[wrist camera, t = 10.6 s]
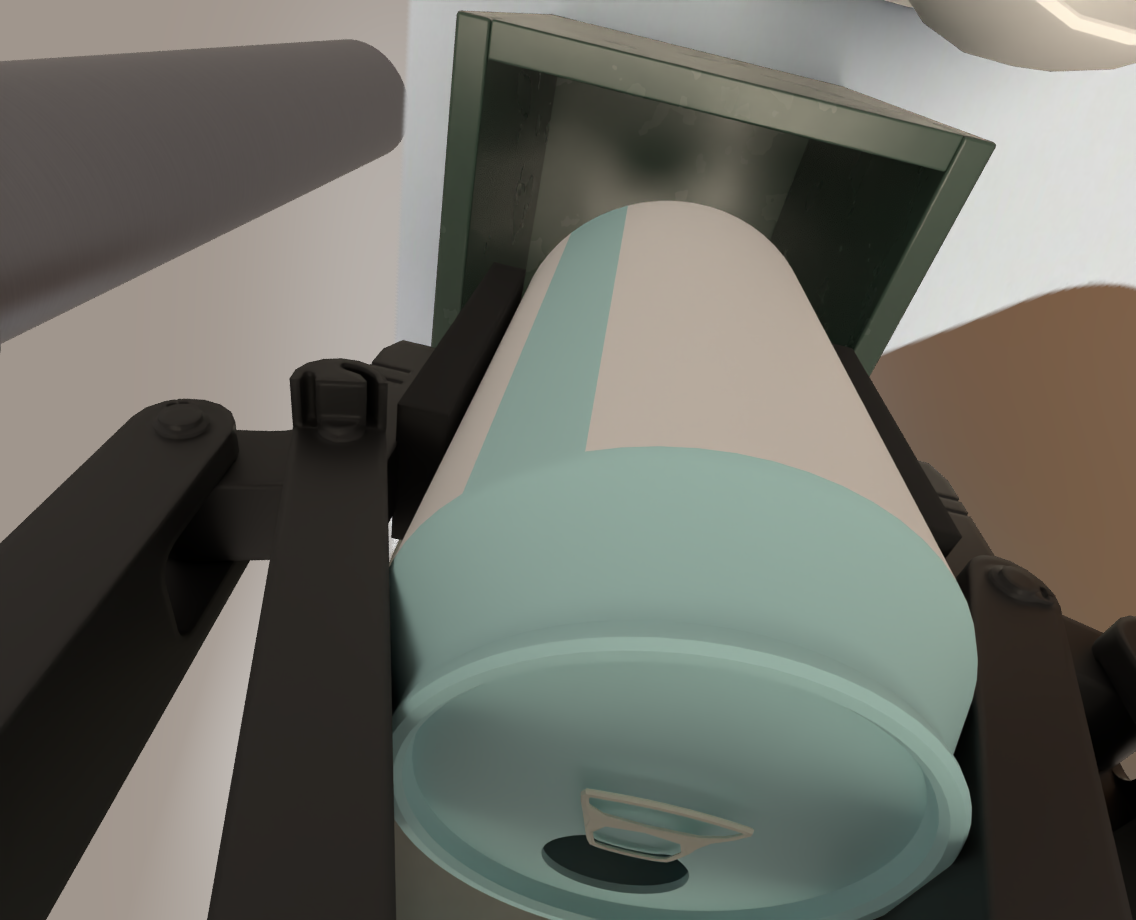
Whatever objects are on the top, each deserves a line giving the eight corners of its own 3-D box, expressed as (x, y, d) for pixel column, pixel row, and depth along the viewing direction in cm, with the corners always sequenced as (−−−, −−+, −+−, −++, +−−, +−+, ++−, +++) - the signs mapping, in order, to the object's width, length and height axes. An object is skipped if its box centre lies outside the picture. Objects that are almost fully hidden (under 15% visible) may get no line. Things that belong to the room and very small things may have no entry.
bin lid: (128, 1162, 11) (140, 1157, 12) (821, 1310, 11) (804, 1299, 12) (414, 501, 22) (415, 514, 22) (764, 582, 22) (756, 593, 23)
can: (829, 411, 17) (1071, 970, 7) (585, 480, 19) (506, 974, 9) (761, 138, 13) (1047, 478, 3) (473, 263, 15) (154, 680, 6)
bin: (550, 14, 26) (456, 9, 14) (844, 86, 26) (999, 143, 14) (502, 333, 35) (418, 500, 23) (724, 386, 35) (758, 580, 23)
